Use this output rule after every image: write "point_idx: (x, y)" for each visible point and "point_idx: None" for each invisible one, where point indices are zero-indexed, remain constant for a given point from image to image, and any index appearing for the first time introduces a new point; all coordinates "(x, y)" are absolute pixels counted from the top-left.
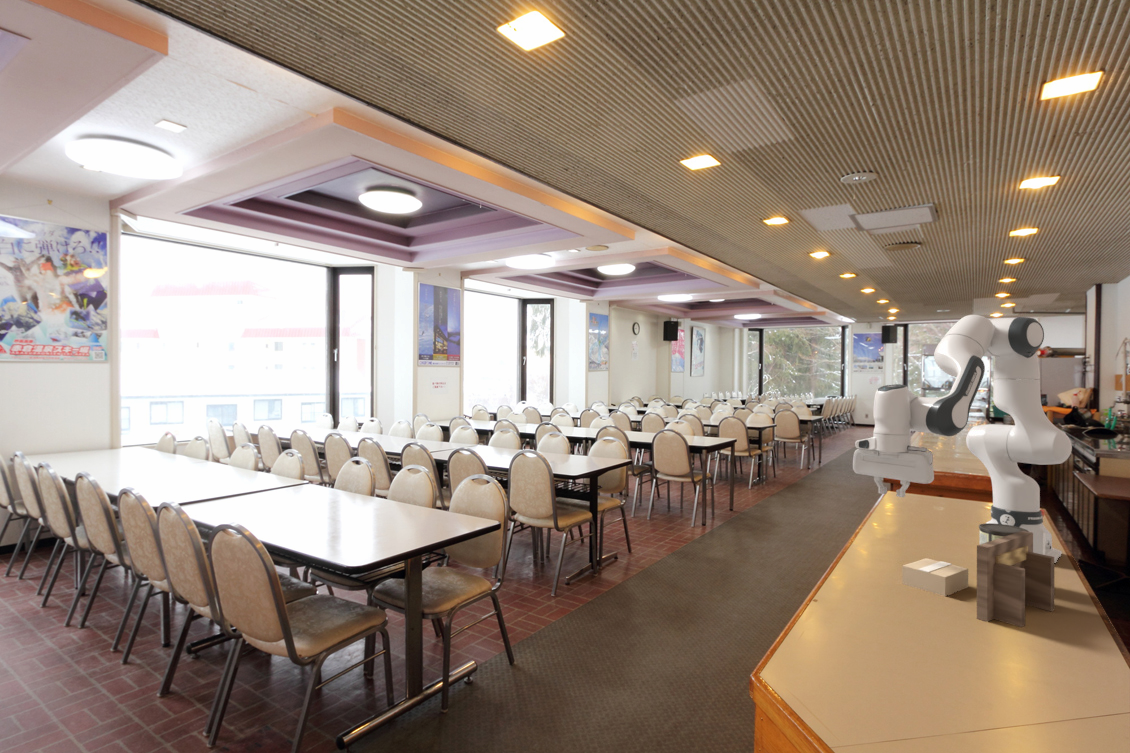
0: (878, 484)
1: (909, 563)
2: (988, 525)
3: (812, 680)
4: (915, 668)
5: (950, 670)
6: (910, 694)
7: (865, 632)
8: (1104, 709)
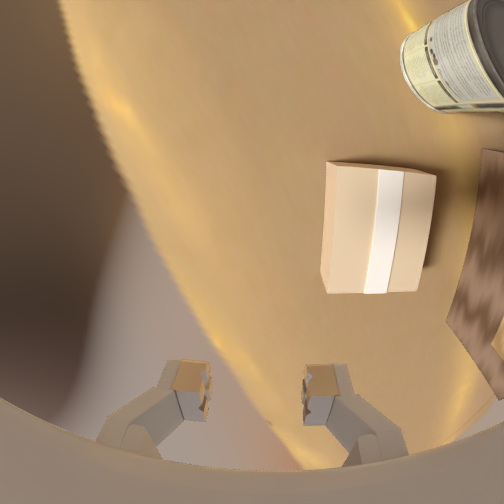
0: (166, 434)
1: (331, 261)
2: (488, 24)
3: None
4: None
5: (420, 429)
6: None
7: None
8: None
